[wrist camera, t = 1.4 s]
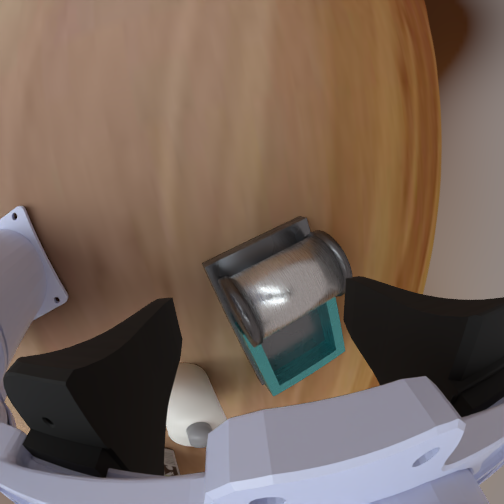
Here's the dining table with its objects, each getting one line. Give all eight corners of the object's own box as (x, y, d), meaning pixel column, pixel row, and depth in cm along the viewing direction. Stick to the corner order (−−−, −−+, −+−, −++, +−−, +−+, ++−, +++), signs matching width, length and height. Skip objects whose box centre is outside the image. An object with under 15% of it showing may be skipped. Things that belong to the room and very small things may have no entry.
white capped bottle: (173, 406, 24) (190, 462, 17) (148, 376, 22) (158, 437, 15) (215, 387, 25) (242, 440, 18) (194, 354, 23) (217, 412, 16)
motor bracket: (258, 379, 26) (286, 419, 21) (201, 263, 21) (225, 296, 15) (334, 333, 29) (371, 362, 23) (305, 213, 23) (354, 227, 18)
